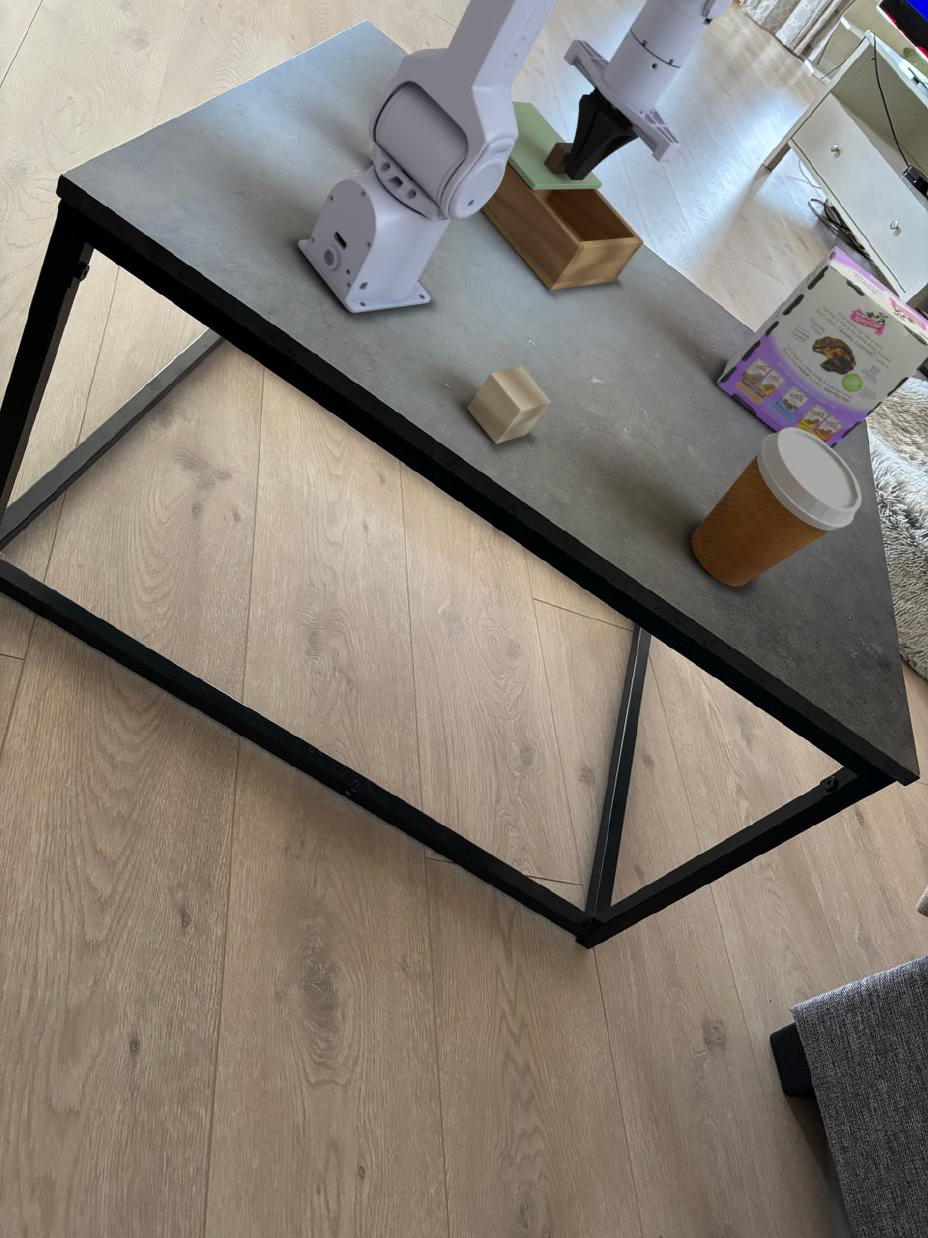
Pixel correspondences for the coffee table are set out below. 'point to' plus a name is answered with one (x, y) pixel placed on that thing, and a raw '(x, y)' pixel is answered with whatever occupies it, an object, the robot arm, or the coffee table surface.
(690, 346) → the coffee table surface
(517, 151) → the sliding lid
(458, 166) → the robot arm
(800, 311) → the candy box
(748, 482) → the disposable coffee cup
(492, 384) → the block
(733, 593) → the coffee table surface
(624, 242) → the oak box
